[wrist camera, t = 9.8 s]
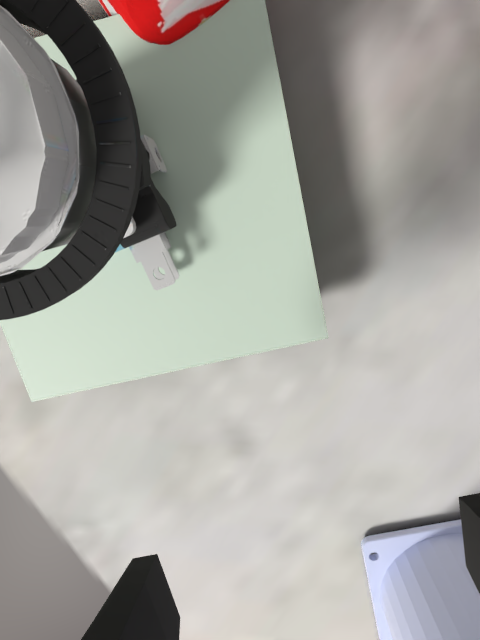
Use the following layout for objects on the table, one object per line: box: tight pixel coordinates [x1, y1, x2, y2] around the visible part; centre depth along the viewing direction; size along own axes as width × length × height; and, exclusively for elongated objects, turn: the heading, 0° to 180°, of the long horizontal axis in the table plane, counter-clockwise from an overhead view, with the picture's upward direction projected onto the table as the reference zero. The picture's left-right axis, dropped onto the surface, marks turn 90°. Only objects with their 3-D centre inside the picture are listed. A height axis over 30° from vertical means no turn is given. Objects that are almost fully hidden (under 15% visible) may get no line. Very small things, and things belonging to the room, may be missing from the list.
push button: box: [0, 0, 179, 320], centre depth 10 cm, size 7×5×10 cm
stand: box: [0, 0, 328, 402], centre depth 17 cm, size 12×12×3 cm
